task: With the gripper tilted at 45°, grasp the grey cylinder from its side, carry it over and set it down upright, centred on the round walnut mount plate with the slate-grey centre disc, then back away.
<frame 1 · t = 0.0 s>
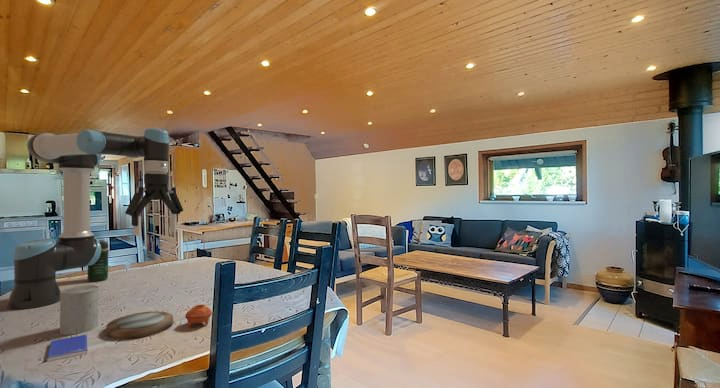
hand: (156, 233, 128), 28 cm above the table, tool pointing down, fingers open, 13 cm apart
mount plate: (141, 327, 114), on the table
blue flat block: (68, 351, 99), on the table
pot: (198, 325, 118), on the table
grey cylinder: (79, 329, 113), on the table
coffee jar: (98, 280, 172), on the table
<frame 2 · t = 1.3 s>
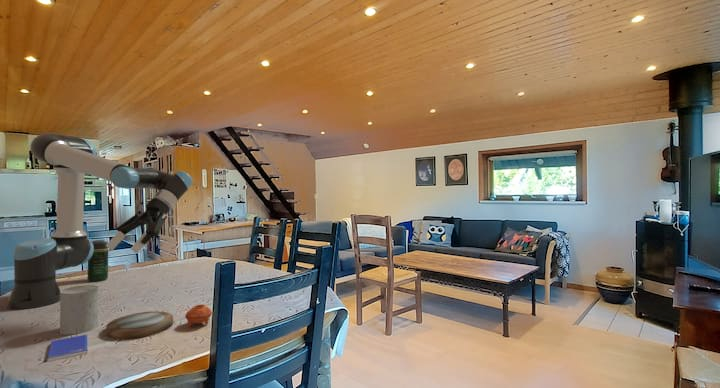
hand: (121, 249, 124), 23 cm above the table, tool tilted 45°, fingers open, 13 cm apart
nothing on the table moved.
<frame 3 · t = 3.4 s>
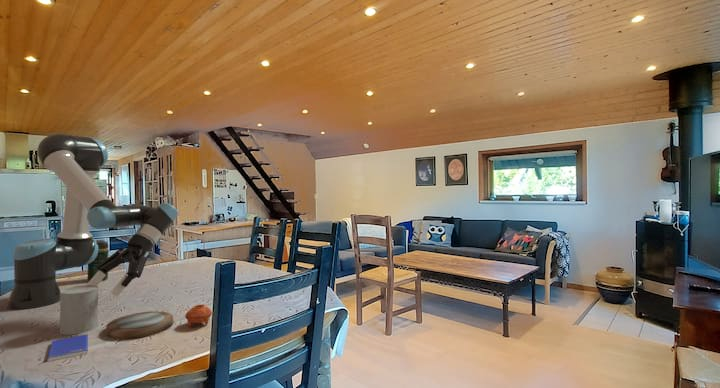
hand: (100, 292, 117), 10 cm above the table, tool tilted 45°, fingers open, 13 cm apart
nothing on the table moved.
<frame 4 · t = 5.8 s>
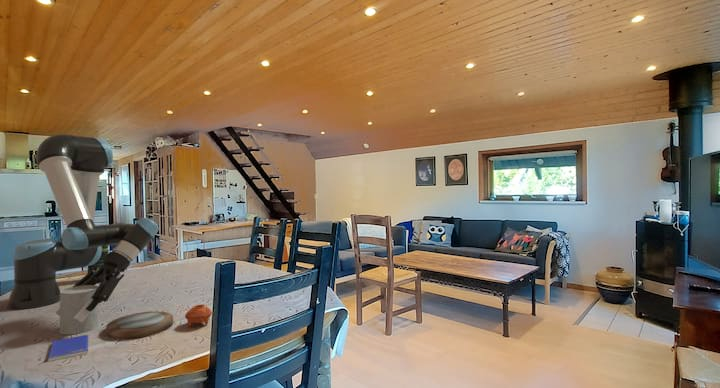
hand: (67, 317, 110), 4 cm above the table, tool tilted 45°, fingers closed on grey cylinder, 9 cm apart
grey cylinder: (79, 329, 113), on the table, touching gripper
everything else where it was.
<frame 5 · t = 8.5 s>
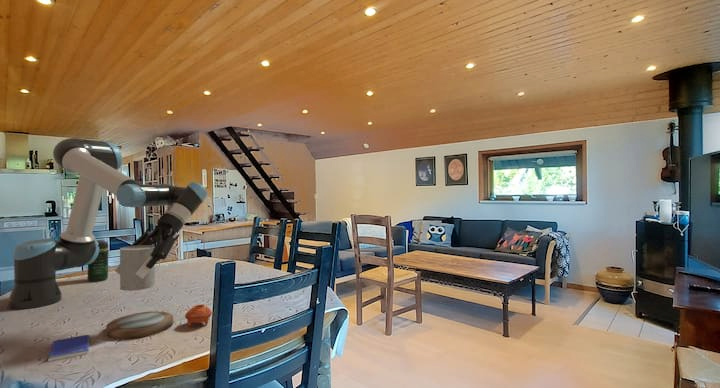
hand: (128, 274, 111), 17 cm above the table, tool tilted 45°, fingers closed on grey cylinder, 9 cm apart
grey cylinder: (138, 287, 114), point 13 cm above the table, touching gripper
everything else where it was.
when the fingers open (8 cm above the table, at t = 11.2 s): grey cylinder drops 1 cm, resting on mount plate.
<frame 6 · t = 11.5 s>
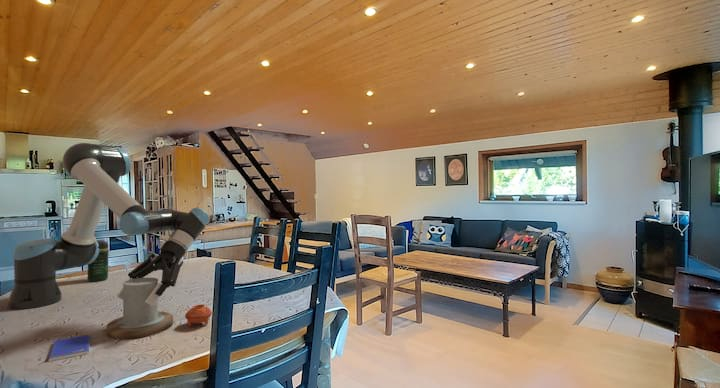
hand: (133, 301, 112), 9 cm above the table, tool tilted 45°, fingers open, 13 cm apart
grey cylinder: (140, 320, 115), point 2 cm above the table, touching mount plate
everything else where it was.
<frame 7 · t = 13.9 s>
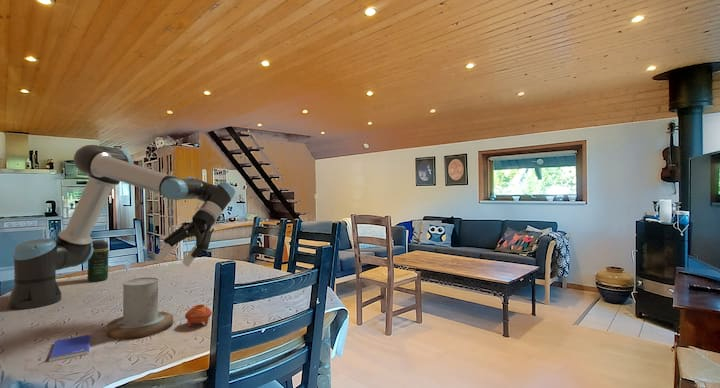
hand: (171, 262, 124), 19 cm above the table, tool tilted 45°, fingers open, 13 cm apart
nothing on the table moved.
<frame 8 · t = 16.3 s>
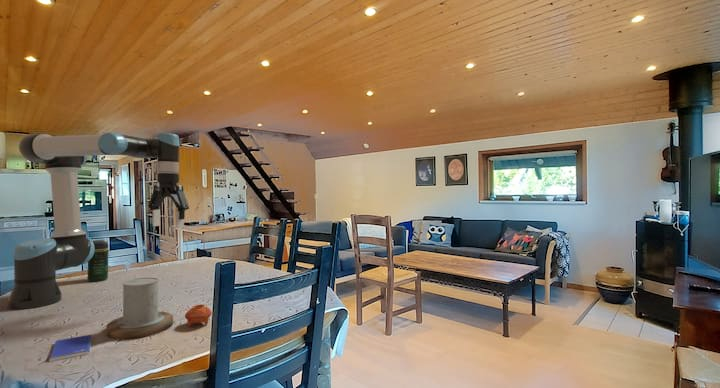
hand: (168, 227, 142), 29 cm above the table, tool pointing down, fingers open, 13 cm apart
nothing on the table moved.
at the end: grey cylinder inside the target area on the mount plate (0.2 cm from its centre), point 2.1 cm above the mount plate's base; grey cylinder tilted 0°; the gripper is holding nothing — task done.
